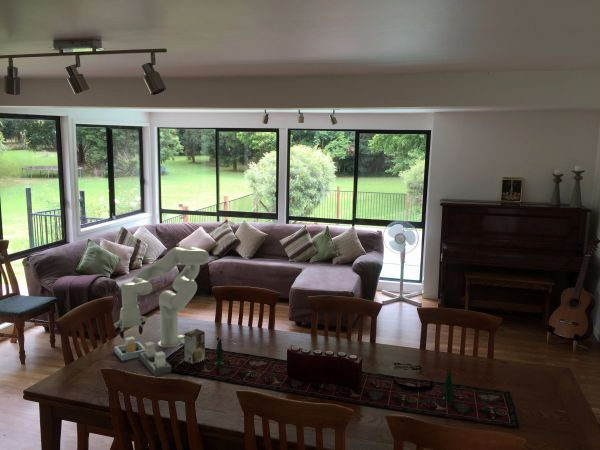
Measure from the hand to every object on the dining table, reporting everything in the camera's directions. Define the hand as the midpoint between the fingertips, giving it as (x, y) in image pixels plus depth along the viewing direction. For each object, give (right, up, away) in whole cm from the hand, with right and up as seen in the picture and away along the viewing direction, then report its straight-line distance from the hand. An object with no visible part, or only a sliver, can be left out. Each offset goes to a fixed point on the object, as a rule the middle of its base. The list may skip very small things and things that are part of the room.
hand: (131, 335), depth 271 cm
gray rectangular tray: (+16, -14, -12) cm, 24 cm away
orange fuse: (-1, -10, +1) cm, 10 cm away
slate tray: (-1, -11, +1) cm, 11 cm away
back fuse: (+12, -11, -6) cm, 17 cm away
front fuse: (+20, -14, -18) cm, 30 cm away
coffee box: (+35, -13, -4) cm, 37 cm away
